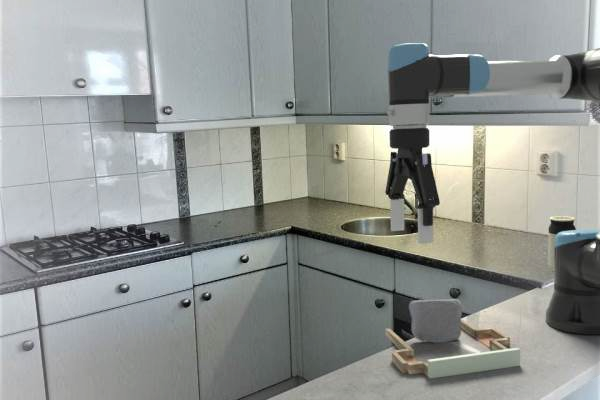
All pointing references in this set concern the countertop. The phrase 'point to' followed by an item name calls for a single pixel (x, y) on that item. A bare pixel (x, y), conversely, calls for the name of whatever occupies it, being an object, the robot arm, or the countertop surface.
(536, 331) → the countertop surface
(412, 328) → the stone block
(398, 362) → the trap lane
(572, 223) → the travel mug
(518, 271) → the countertop surface
